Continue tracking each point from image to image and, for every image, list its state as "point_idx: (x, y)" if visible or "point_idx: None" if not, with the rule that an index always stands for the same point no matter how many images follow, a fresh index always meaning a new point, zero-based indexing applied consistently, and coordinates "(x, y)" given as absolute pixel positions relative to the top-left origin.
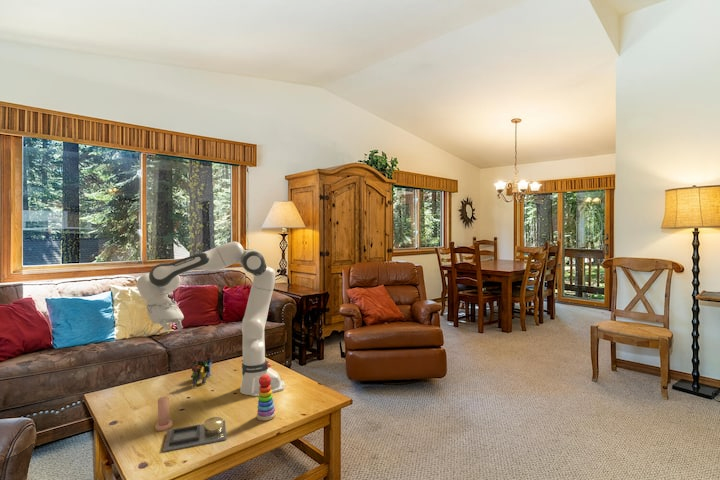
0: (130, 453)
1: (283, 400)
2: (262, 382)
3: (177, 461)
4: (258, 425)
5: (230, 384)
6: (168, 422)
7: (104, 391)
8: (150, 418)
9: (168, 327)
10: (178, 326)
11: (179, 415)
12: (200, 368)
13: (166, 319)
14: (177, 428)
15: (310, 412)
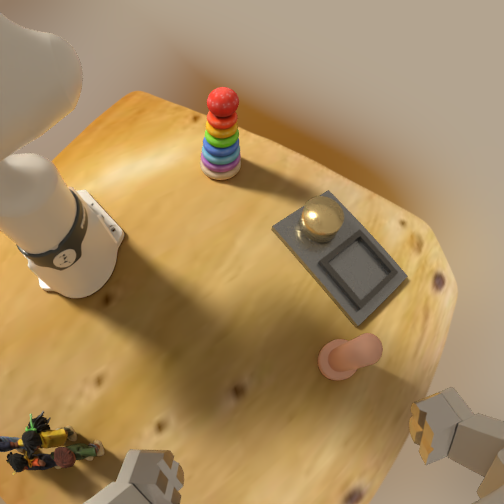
0: (430, 335)
1: (139, 168)
2: (238, 100)
3: (409, 234)
4: (258, 165)
5: (56, 346)
6: (337, 346)
7: None
8: (310, 434)
9: (457, 394)
10: (167, 491)
11: (272, 371)
12: (47, 444)
13: (482, 499)
14: (353, 298)
15: (186, 112)
